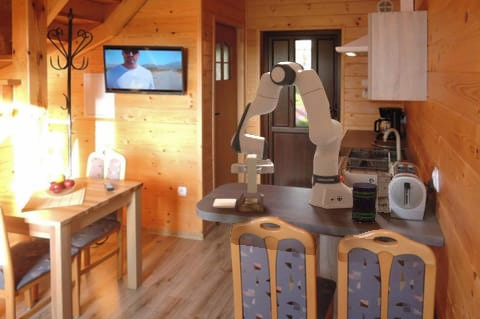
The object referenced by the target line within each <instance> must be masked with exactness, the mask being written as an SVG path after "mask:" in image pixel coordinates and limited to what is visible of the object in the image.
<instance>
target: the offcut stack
mask: <svg viewBox="0 0 480 319" xmlns="http://www.w3.org/2000/svg"><path fill="white" fill-rule="evenodd" d="M244 199H245V200H244V202H243V204H258V198H257V197H256V198H251V197H250V198H249V197H246V198H244Z"/></svg>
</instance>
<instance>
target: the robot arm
mask: <svg viewBox="0 0 480 319" xmlns="http://www.w3.org/2000/svg"><path fill="white" fill-rule="evenodd" d="M291 86H295V87H296V88H297V90H298V93H299V95H300V97H301V98H300V99H301V101H302V104H303V107H304V109H305V113H306V117H307V123H308V129H309V130H308V131H309V132H308V138H309V140H310V141H311V142H312V144H314V145H316V149H315V153H314V155H313V169H312V170H313V171H312V172H313V173H312V174H311V185H312V188H311V195H310V198H309V201H308V204H310V205H311V206H315V207H320V208H323V209H327V210H328V209H329V210H330V209H352V206H353V198H352V190H351V189H350V188H349V187H348V186H347V185H345V183H343V182H344V180H345V178H344V177H343V176H342V175H340V174H339V172H338V170H339V169H338V168H339V166H338V165H339V153H340V149H341V143H342V136H343V133H344V128H343V124H342V123H341V122H339V121H338V120H336V119H333V118H332V117H331V116H332V115H331V111H330V102H329V99H328V96H327V94H326V91H325V88H324V85H323V82H322V81H321V78H320V77H319V74H318V73H317V72H316V71H315V69H313V68H304V65H302V64H300V63H298V62H291V61H284V62H277V63H275V64H273V66H272V67H271V69H270V70H269V72H265V73H263V74H262V75H261V78H260V80H259V83H258V86H257V89H256V94H255V96H254V98H253V100H252V101H250V102H248V103H247V105H245V106H246V107H245V109H244V110H243V113H242V115H241V118H240V121H239V123H238V126H237V128H236V131H235V132H234V134H233V136H232V138H231V140H230V148H231V149H232V151H233V152H234V153H235V154H237V153H238V154H244V155H245V154H246V155H247V156H246V158H245V160H244V162H242V163H233V164H232V165H231V166H230V172H231V173H232V174H247V157H248V155H251V154H257V169H256V171H257V172H256V173H257V175H262V174H274V173H275V165H274V163H273V161H272V160H271V159H269V158H267V156H268V150H269V143H268V142H269V141H268V140H267V139H266V138H265V137H263V136H258V135H257V136H256V135H251V134H246V133H245V132H246V128H247V126H248V123H249V121H250V120H251V118H253V117H256V116H261V115H267V114H269V113H271V112H273V111H274V110H275V109H276V108H277V105H278V102H279V98H280V94H281V90H282V89H283V87H291ZM266 158H267V159H266Z"/></svg>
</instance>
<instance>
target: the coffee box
mask: <svg viewBox="0 0 480 319" xmlns="http://www.w3.org/2000/svg"><path fill="white" fill-rule="evenodd" d="M376 176H377V177H376V185H377V199H376V213H381V212H384V214H386V213H387V214H390V213H389V199H388V185H389V183H390V181H391V180H392V178H393V177H394V175H393V174H392V173H390V172H388V173H387V172H383V173H382V172H380V173H379V172H378V173H377V175H376Z"/></svg>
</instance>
